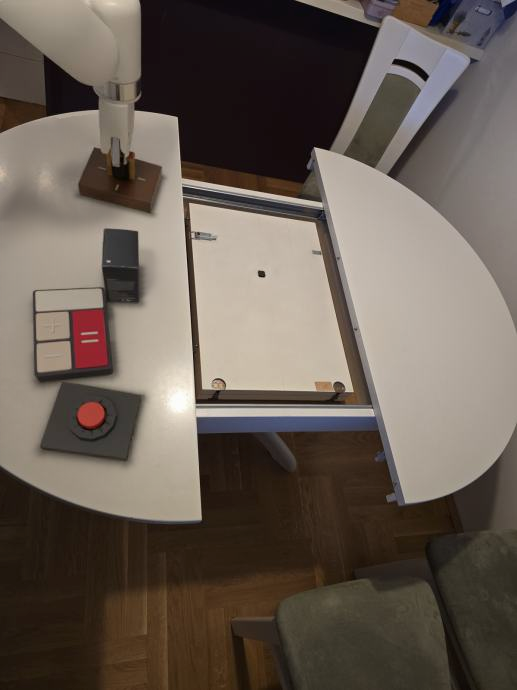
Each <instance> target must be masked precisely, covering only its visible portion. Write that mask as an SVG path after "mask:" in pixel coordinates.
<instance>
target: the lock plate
mask: <svg viewBox="0 0 517 690" xmlns="http://www.w3.org/2000/svg"><path fill="white" fill-rule="evenodd" d="M162 173H163V166H162V165H159V164H156V163H153V162H149V161H145V160H141V159H137V158H135V178H134V180H132V179H122V178H117V177H113V176H111V175H108V165H107V154H103V153H102V152H101V147H96V146H94V147H93V148H92V151H91V153H90V155H89V157H88V160H87V162H86V164H85V167H84V169H83V171H82V173H81V176H80V178H79V181H78V182H77V185H78V191H79V195H80V196H82V197H86V198H90V199H93V200H97V201H101V202H105V203H109V204H113V205H117V206H121V207H124V208H129V209H132V210H136V211H140V212H144V213H148V214H151V213H152V210H153V206H154V203H155V200H156V197H157V194H158V191H159V186H160V183H161V181H162Z"/></svg>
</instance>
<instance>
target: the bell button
mask: <svg viewBox="0 0 517 690" xmlns="http://www.w3.org/2000/svg"><path fill="white" fill-rule="evenodd" d="M77 416H78V420H79V422H80V424H81V425H82V426H83V427H85V428H87V429H95V428H97V427H99V426H100V425H102V423H103V422H104V420H105V411H104V409H103V407H102V406H101V405H100V404H99V403H96V402H88V403H86V404H84V405H82V406H81V407H80V409H79V411H78V414H77Z"/></svg>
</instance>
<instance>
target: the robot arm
mask: <svg viewBox="0 0 517 690" xmlns="http://www.w3.org/2000/svg"><path fill="white" fill-rule="evenodd" d="M141 7H142V6H141V3H140V0H0V19H1V20H2V21H4V23H6V24H7V25H8V26H9V27H11V28H12V29H13V30H14V31H16V33H18V34H19V35H20V36H22V37H23V38H24V39H25V40H26V41H28V42H29V43H30V44H31V45H32V46H33V47H35V49H37V50H38V51H40V52H41V53H42V54H43V55H45V56H46V58H48V59H49V60H50V61H52V62H53V63H54V64H56V65H57V66H58V67H59V68H61V69H62V70H63V71H64V72H65V73H67V74H68V75H69V76H71V77H72V78H73V79H75V80H76V81H78V82H79V83H81V84H83V85H86V86H92V89H93V91H94V93H95V94H96V95H97V96H98V127H99V144H100V149H101V152H102V153H103V154H108V152H109V150H110V148H111V165H112V176H113V177H117V178H122V179H129V162H128V161H127V157H128V156H129V152H130V151H131V146H132V141H133V135H134V128H135V103H136V102H138V101H139V100H140V99H141V96H142V9H141ZM120 154H123V157H121V156H120Z"/></svg>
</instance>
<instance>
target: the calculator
mask: <svg viewBox="0 0 517 690" xmlns="http://www.w3.org/2000/svg"><path fill="white" fill-rule="evenodd" d="M107 302H108V301H107V298H106V291H105V287H103V286H100V287H99V286H96V287H74V288H53V289H52V288H50V289H34V290H33V291H32V321H33V322H32V324H33V370H34V371H33V372H34V377H35V378H36V379H37V380H38V382H40V383H46V382H55V381H63V380H73V379H81V378H90V377H98V376H99V377H100V376H107V375H108V376H110V375H112V374H113V372H114V371H113V369H114V368H113V360H112V359H113V358H112V348H111V337H110V328H109V327H110V326H109V318H108V317H109V313H108V303H107Z"/></svg>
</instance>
